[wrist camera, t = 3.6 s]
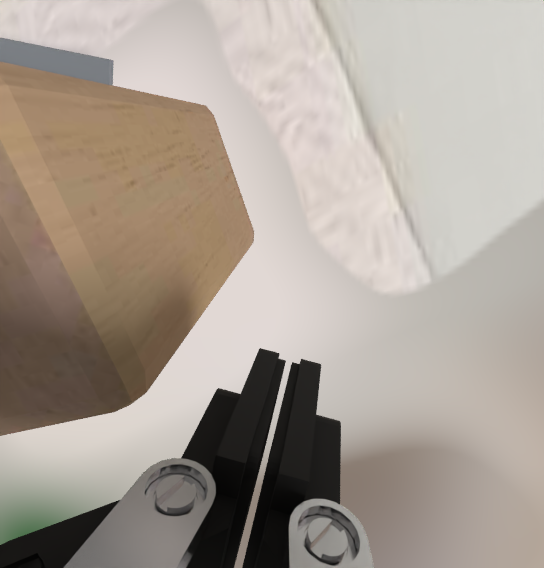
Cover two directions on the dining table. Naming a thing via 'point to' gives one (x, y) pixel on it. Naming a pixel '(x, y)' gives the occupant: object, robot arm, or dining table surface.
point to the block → (104, 240)
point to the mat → (57, 61)
